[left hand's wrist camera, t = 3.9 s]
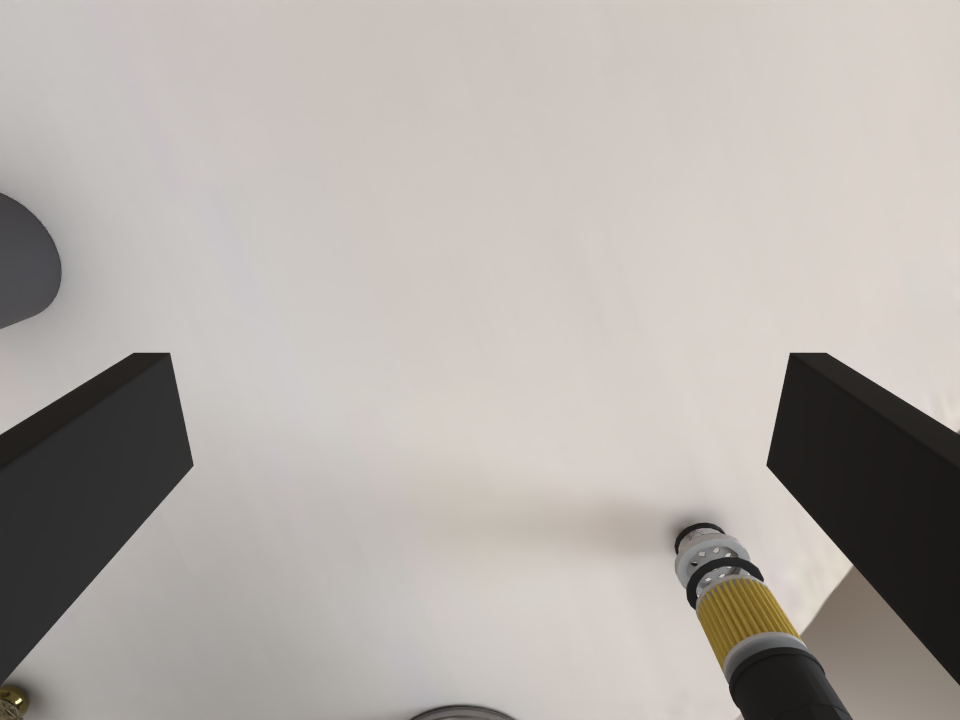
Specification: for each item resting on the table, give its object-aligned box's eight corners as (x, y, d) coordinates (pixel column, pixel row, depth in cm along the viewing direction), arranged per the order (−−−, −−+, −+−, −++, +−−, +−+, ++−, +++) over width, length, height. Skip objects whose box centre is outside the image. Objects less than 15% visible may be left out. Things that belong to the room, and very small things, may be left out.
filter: (648, 532, 47) (893, 1103, 19) (705, 495, 46) (1057, 1049, 18) (686, 573, 49) (964, 1156, 21) (743, 538, 47) (1120, 1109, 19)
